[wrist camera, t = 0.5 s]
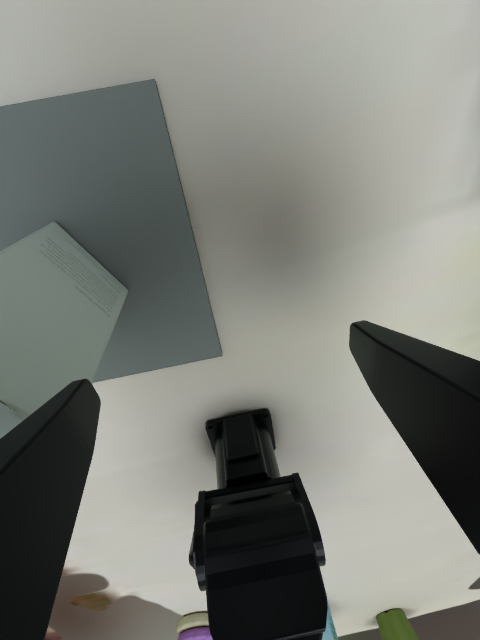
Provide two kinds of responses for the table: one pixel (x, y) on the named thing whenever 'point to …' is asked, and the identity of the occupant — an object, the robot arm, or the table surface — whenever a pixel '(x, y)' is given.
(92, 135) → the mat
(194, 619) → the stacking toy
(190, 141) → the table surface
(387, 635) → the plant pot
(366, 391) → the table surface
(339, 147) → the table surface
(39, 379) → the skincare box
